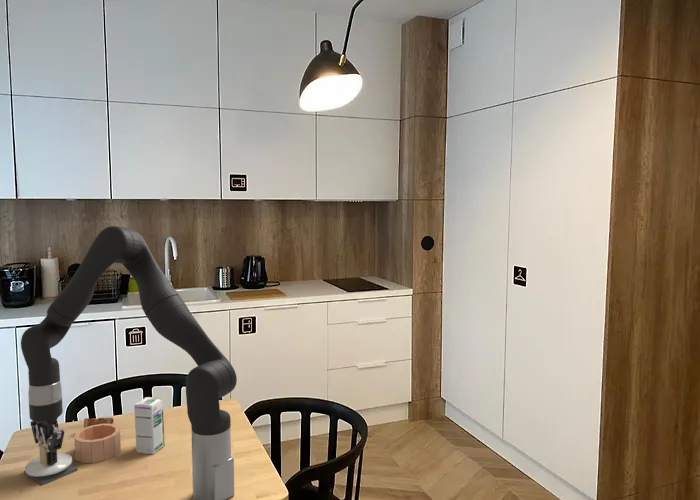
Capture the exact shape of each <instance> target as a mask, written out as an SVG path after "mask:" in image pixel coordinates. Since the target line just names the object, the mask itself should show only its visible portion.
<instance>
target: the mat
mask: <svg viewBox="0 0 700 500" xmlns="http://www.w3.org/2000/svg"><path fill="white" fill-rule="evenodd" d="M77 471H79V468H78V467H76V466H74V465H73V464H71V465H70V466H69V467H68V468H66V469H65V470H63V471H61V472H58V473H55V474H52V475H48V476H40V477H35V476H29V475H27V474H26V473H25V470H23V473H24V474H25V475H27V476H28V477H29V478H31V479H33V480H34V481H36V482H37V483H38V484H40V485H42V486H44V485H46V484H48V483H51V482H53V481H55V480H58V479H61V478H64V477H65V476H68V475H71V474H72V473H74V472H77Z"/></svg>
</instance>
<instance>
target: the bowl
mask: <svg viewBox="0 0 700 500" xmlns="http://www.w3.org/2000/svg"><path fill="white" fill-rule="evenodd" d="M73 439H74V457H75V458H74V459H75V460H76V461H78V462H80V463H84V464H85V463H86V464H95V463H99V462H105V461H107V460H110V459H112V458H114V457H116V456H117V455H118V454H119V453H121V451H122V449H121V446H122V445H121V427H120V426H119V425H116V424H115V423H113V424H97V425H92V426H89V427H86V428H84V427H83V428H81V429H80V430H78V431H77V432H76V433H75V434H74V437H73Z"/></svg>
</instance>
